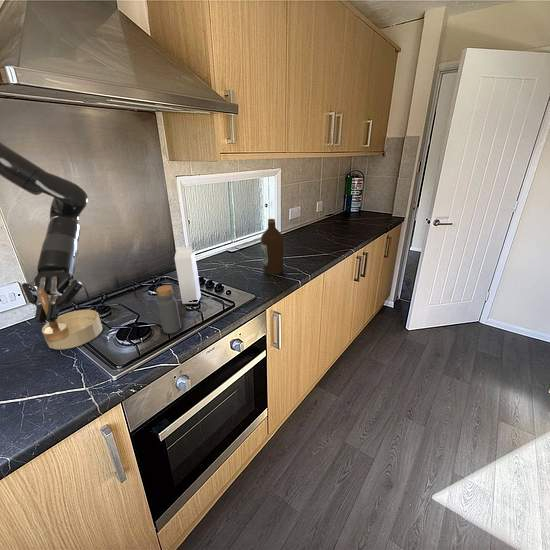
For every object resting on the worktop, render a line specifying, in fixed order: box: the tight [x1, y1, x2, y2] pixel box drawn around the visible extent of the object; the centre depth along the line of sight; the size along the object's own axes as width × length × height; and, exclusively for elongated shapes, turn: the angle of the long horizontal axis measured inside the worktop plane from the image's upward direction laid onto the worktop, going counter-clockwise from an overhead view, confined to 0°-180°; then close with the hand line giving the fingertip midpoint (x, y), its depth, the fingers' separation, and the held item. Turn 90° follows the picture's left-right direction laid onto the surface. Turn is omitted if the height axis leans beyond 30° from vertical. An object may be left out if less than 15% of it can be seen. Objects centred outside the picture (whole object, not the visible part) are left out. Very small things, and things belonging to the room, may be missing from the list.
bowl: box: [41, 309, 104, 350], centre depth 94 cm, size 15×15×6 cm
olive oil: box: [260, 218, 285, 276], centre depth 136 cm, size 11×11×25 cm
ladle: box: [36, 289, 70, 342], centre depth 70 cm, size 5×5×13 cm
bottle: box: [155, 284, 182, 335], centre depth 94 cm, size 6×6×15 cm
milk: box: [174, 246, 202, 305], centre depth 111 cm, size 6×6×22 cm
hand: (45, 321), depth 69 cm, fingers closed on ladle
